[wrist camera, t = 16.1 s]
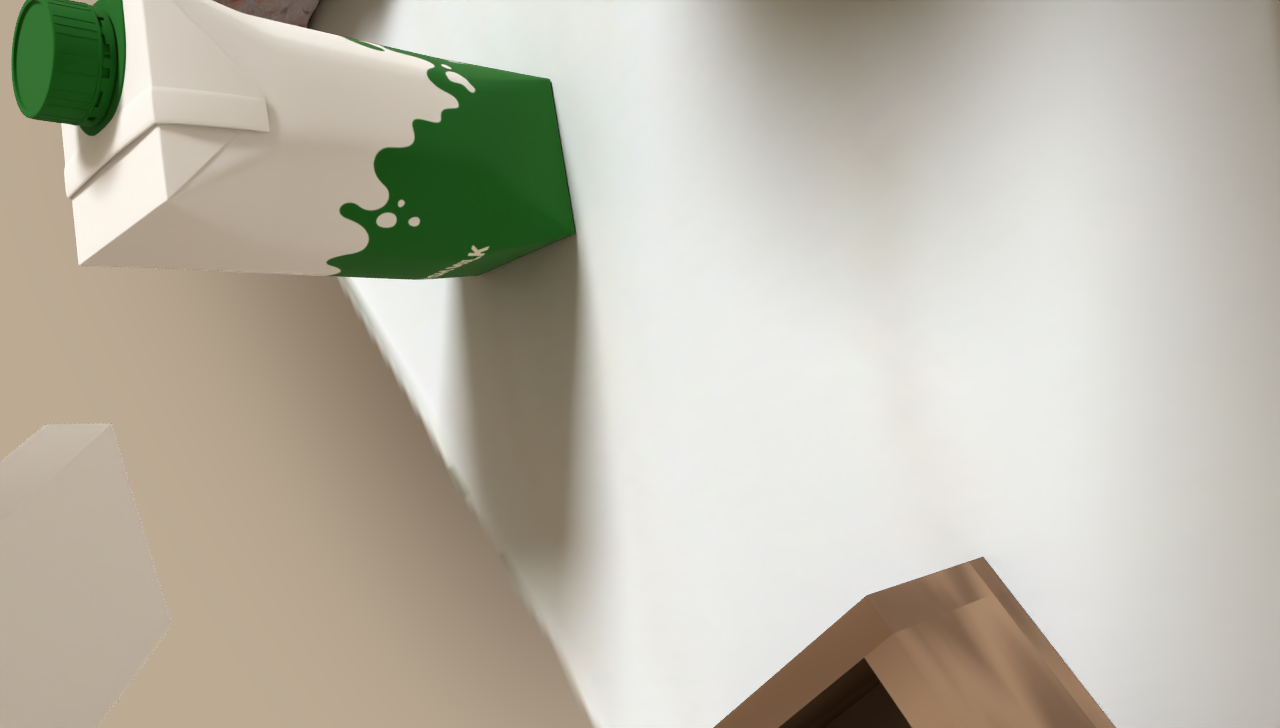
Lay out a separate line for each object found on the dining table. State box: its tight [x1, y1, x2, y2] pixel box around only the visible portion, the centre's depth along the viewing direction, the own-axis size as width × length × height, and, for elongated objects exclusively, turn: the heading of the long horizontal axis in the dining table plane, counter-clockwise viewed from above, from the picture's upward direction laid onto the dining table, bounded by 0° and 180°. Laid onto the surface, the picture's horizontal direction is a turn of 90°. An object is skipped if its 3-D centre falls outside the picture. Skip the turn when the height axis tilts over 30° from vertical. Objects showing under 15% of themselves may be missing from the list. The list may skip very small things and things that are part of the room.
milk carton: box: [12, 0, 575, 280], centre depth 42 cm, size 9×9×20 cm
